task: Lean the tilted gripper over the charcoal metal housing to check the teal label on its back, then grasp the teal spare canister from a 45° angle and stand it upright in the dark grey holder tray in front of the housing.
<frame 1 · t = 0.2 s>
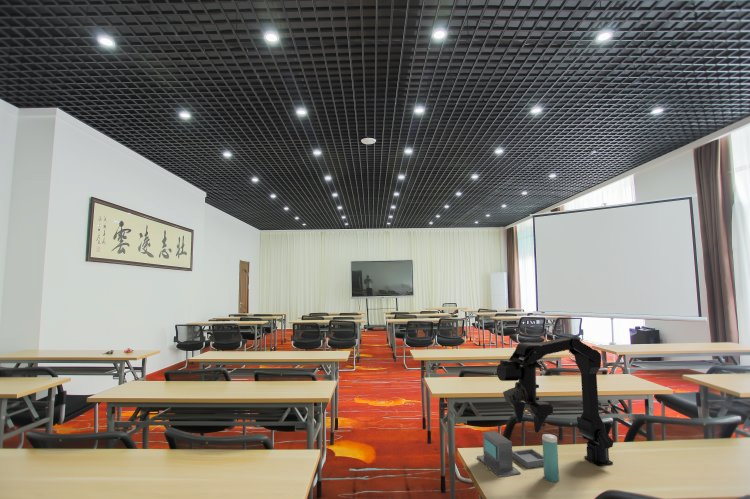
hand: (527, 427, 126), 14 cm above the table, tool pointing down, fingers open, 9 cm apart
spare canister: (551, 478, 120), on the table
housing: (497, 465, 128), on the table
holder tray: (529, 460, 131), on the table
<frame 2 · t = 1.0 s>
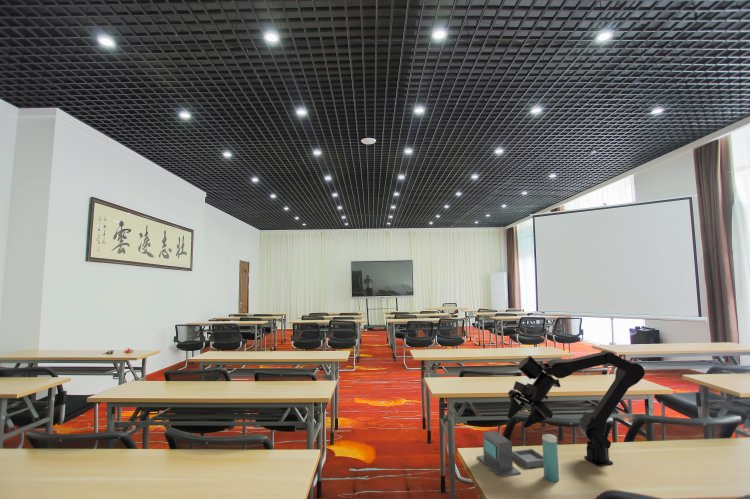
hand: (516, 422, 132), 13 cm above the table, tool tilted 45°, fingers open, 9 cm apart
nothing on the table moved.
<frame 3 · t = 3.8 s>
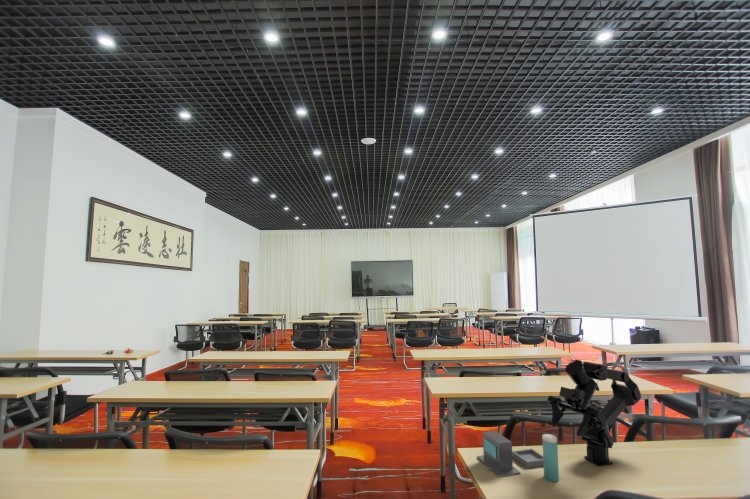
hand: (564, 430, 125), 13 cm above the table, tool tilted 45°, fingers open, 9 cm apart
nothing on the table moved.
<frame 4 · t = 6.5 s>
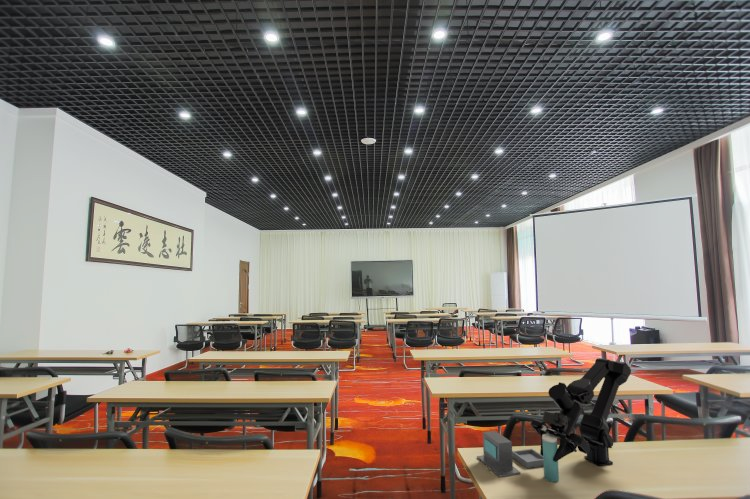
hand: (547, 458, 120), 7 cm above the table, tool tilted 45°, fingers closed on spare canister, 4 cm apart
spare canister: (551, 478, 120), on the table, touching gripper
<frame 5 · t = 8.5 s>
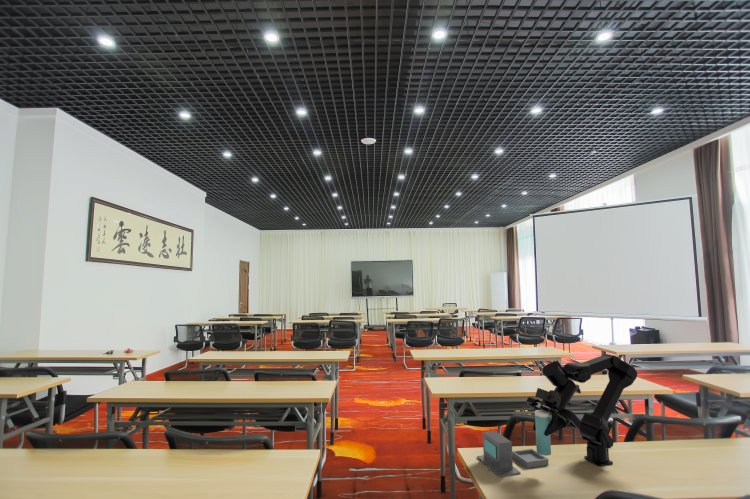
hand: (539, 432, 123), 13 cm above the table, tool tilted 45°, fingers closed on spare canister, 4 cm apart
spare canister: (543, 452, 123), point 7 cm above the table, touching gripper
when the fingers open (9 cm above the table, at t = 10.7 s): spare canister drops 1 cm, resting on holder tray.
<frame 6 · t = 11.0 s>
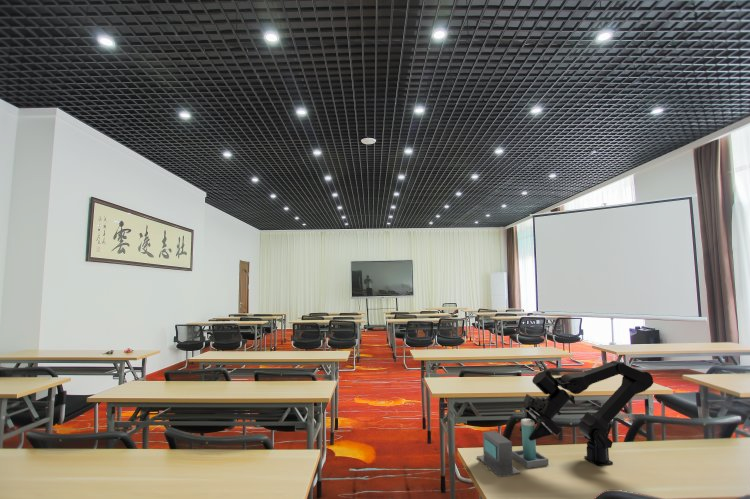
hand: (524, 435, 132), 9 cm above the table, tool tilted 45°, fingers open, 7 cm apart
spare canister: (529, 458, 131), point 1 cm above the table, touching holder tray
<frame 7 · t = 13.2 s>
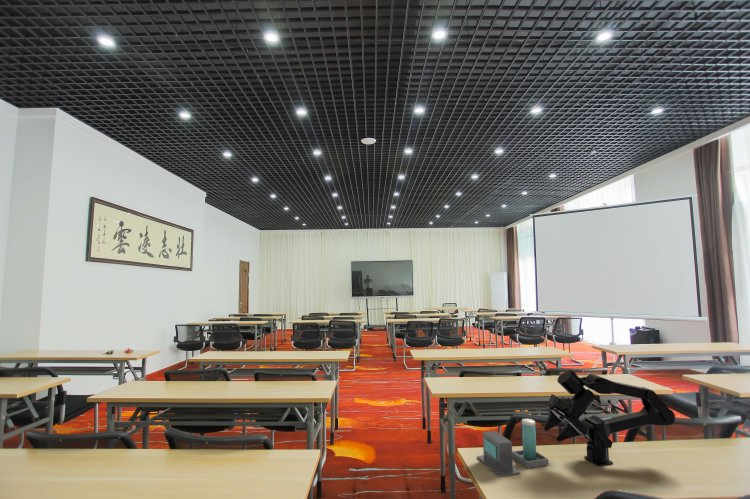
hand: (550, 435, 132), 9 cm above the table, tool tilted 45°, fingers open, 9 cm apart
nothing on the table moved.
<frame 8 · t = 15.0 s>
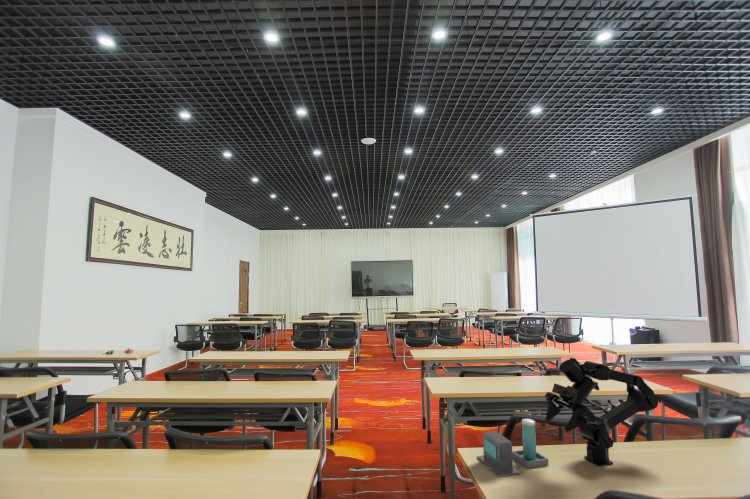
hand: (555, 425, 129), 14 cm above the table, tool tilted 45°, fingers open, 9 cm apart
nothing on the table moved.
at the end: spare canister 0.1 cm off-centre on the holder tray, point 0.8 cm above the holder tray's base; spare canister tilted 0°; the gripper is holding nothing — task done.
